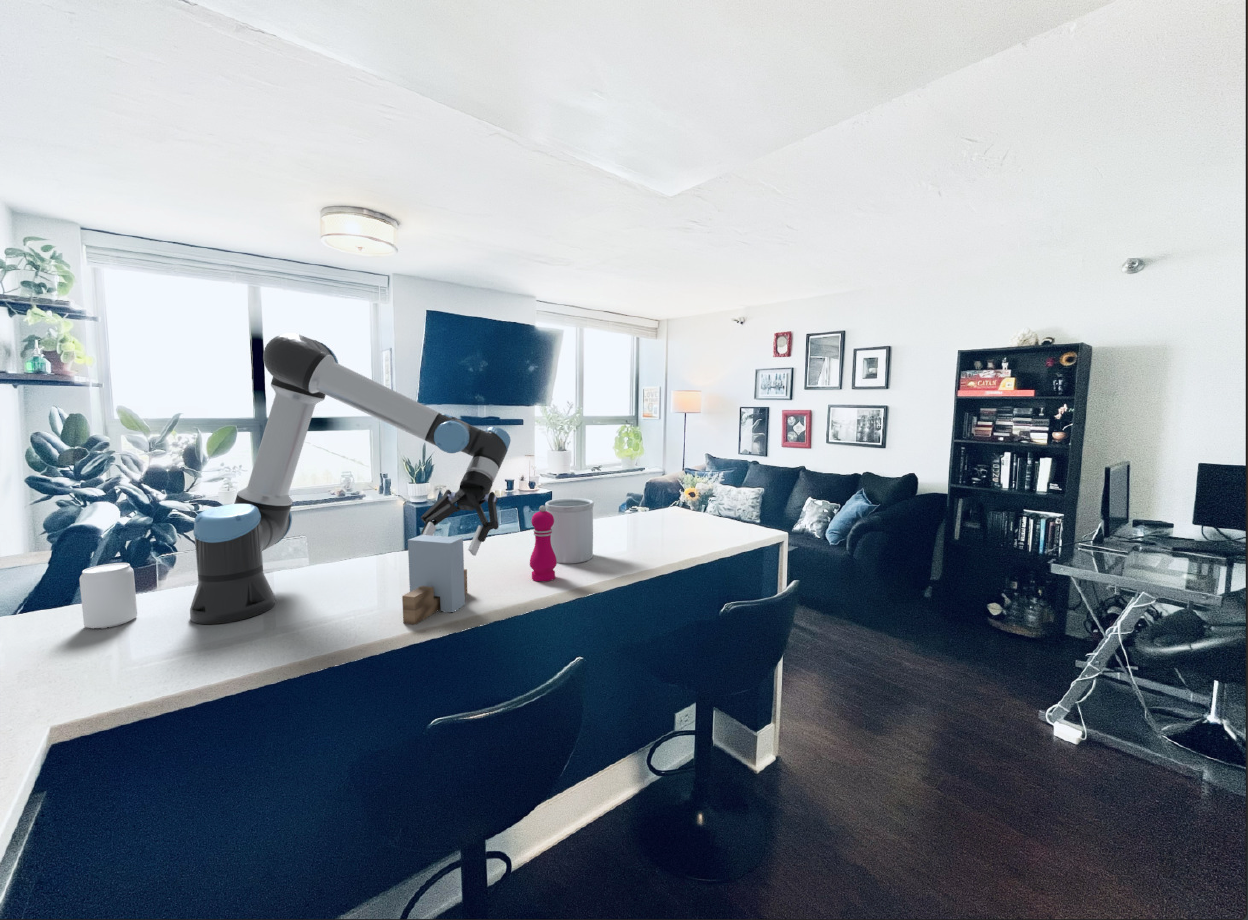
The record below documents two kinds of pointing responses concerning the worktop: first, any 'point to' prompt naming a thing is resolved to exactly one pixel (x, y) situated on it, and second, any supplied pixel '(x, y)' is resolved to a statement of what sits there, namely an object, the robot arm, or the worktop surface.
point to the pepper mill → (543, 547)
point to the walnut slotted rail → (422, 603)
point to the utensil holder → (571, 529)
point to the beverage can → (108, 595)
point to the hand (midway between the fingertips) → (446, 550)
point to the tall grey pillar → (438, 568)
